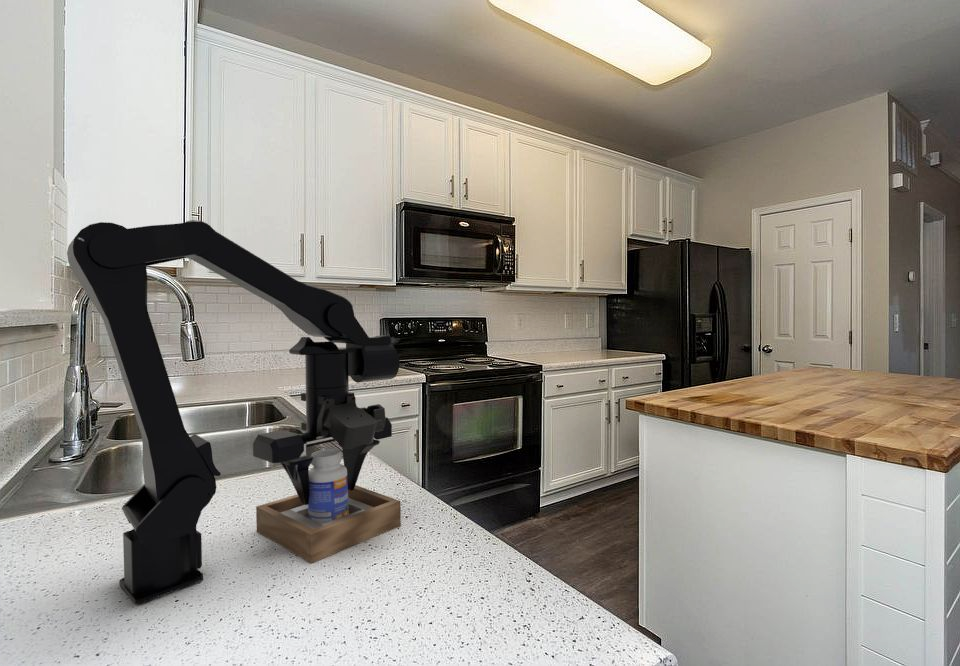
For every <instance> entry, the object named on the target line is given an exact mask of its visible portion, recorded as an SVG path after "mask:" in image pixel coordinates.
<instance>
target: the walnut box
mask: <svg viewBox="0 0 960 666" xmlns="http://www.w3.org/2000/svg"><path fill="white" fill-rule="evenodd" d="M348 503H349V515H346V516H343V517H340V518H338V519H335V520H332V521H329V522H327V523H324V524H320V523H318V522H315V521H313V520H311V519H309V513H308V505H304V504H302V502H301V500H300V498H299V496H298V494H297V493H296V494H294V495H290V496H288V497H284V498H280V499H277V500H274V501H270V502H267V503H264V504H260V505H256V508H255V511H256V512H255V513H256V515H255V516H256V517H255V518H256V519H255V520H256V521H255V522H256V532H257V533H258V534H260V535H262V536H264V537H265V538H267V539H269V540H271V542H274V543H276V544H278V545H279V546H280V547H283V548H284V549H286V550H287V551H289V552H291V553H293V554H295V555H297V556H298V557H299V558H301V559H304V560H305V561H307V562H308V563H309V564H313V563H315V562H318V561H320V560H322V559H323V560H324V559H325V558H328V557H330V556H331V555H335V554H336V553H339V552H341V551H344V550H345V549H348V548H350V547H353V546H357V544H361V543H362V542H364V541H365V542H366V541H367V540H370V539H372V538H374V537H377V536H379V535H381V534H384V533H386V532H388V531H391V530H393V529H395V528H398V527H401V525H402V523H401V521H402V519H401V511H402V509H401V500H399V499H397V498H394V497H390V496H387V495H384V494H383V493H378V492H376V491H373V490H371V489H368V488H365V487H362V486H359V485H357V484H356V485H355V488H354V490H352V491H351V490H348Z"/></svg>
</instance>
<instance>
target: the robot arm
mask: <svg viewBox="0 0 960 666" xmlns="http://www.w3.org/2000/svg"><path fill="white" fill-rule="evenodd" d="M66 256H67V262H68V264H69V267H70V268H71V270H72V272H73V274H74V275H75V278H76V279H77V281H78V283H79V284H80V285H81V287H82V289H83V290H84V292H85V294H86V295H87V297H88V299H90V302H91V303H92V304H93V306H94V307H95V310H97V311H98V313H99V315H100V317H101V319H102V321H103V323H104V327H105V329H106V332H107V336H108V338H109V341H110V345H111V347H112V349H113V350H112V351H113V353H114V356H115V359H116V362H117V365H118V368H119V371H120V374H121V377H122V381H123V384H124V386H125V389H126V393H127V395H128V398H129V401H130V404H131V407H132V410H133V413H134V416H135V419H136V423H137V425H138V427H139V431H140V435H141V439H142V441H141V442H142V447H141V448H142V449H141V450H142V452H141V453H142V454H141V455H142V457H141V460H142V461H141V463H142V473H143V482H144V484H142V486H140V487H139V489H138V490H137V491H136V492H135V493H134V494H133V495H132V496H131V497H130V498H129V499H128V500H127V501H126V502H125V503H124V504H123V505H122V506H121V510H122V512H123V514H124V516H125V518H126V519H127V522H128V523H129V524H130V525H131V526H132V529H131V530H128V531H124V532H123V533H122V539H123V544H122V545H123V546H122V547H123V576H124V577H122V578H120V579H119V582H118V583H119V586H120V587H121V588H122V589H123V591H124V592H125V593H126V595H127V596H128V597H129V598H130V599H131V600H132V602H133V603H134V604H136V605H138V604H142V603H145V602H149V601H150V600H153V599H156V598H159V597H161V596H163V595H166V594H168V593H169V594H170V593H171V592H174V591H177V590H179V589H181V588H184V587H187V586H189V585H192V584H195V583H198V582H199V581H202V580H203V579H204V573H202V572H201V571H200V569H201V568H202V566H203V550H202V549H203V548H202V547H203V546H202V533H201V532H200V531H198V530H197V525H198V522H199V520H200V516H201V514H202V511H203V509H205V507H207V506H208V504H210V503H211V501H212V499H213V497H214V496H215V494H216V491H217V482H216V481H217V480H216V478H215V477H219V476H221V474H222V473H221V472H220V470H218V469H217V468H216V465H215V464H214V460H213V451H212V445H211V442H210V441H208V440H206V439H205V438H203V437H201V436H199V435H198V434H196V433H194V434H192V435H189V433H188V432H187V430H186V429H185V426H184V422H183V419H182V416H181V413H180V410H179V405H178V403H177V399H176V397H175V394H174V390H173V387H172V384H171V381H170V377H169V374H168V371H167V368H166V366H165V365H166V364H165V362H164V359H163V356H162V353H161V350H160V345H159V343H158V339H157V337H156V334H155V329H154V327H153V324H152V320H151V317H150V315H149V311H148V310H149V309H148V271H147V267H149V266H154V265H157V264H163V263H169V262H172V261H178V260H183V259H189V260H190V261H191V260H192V261H194V262H195V263H197V264H198V265H201V266H202V267H204V268H206V269H207V270H209V271H212V272H214V273H215V274H216V275H219V276H220V277H223V278H224V279H226V280H228V281H230V282H231V283H233V284H235V285H237V286H239V287H240V288H243V289H244V290H246V291H248V292H250V294H253V295H255V296H257V297H258V298H261V299H262V300H264V301H266V302H268V303H269V304H272V305H273V306H274V307H276V308H277V309H278V310H280V311H281V312H282V313H283V314H284V316H285V317H286V318H287V319H288V320H289V321H290V322H291V323H292V324H294V326H296V327H297V328H299V329H301V330H302V331H303V332H304V333H305V334H306V335H308V336H301V337H300V338H299V340H298V342H297V343H296V344H294V345H293V346H292V347H290V348H289V350H288V352H289V354H291V355H298V356H305V362H304V363H305V364H304V365H305V392H301V393H300V400H301V402H302V401H303V402H305V419H306V420H305V421H302V422H300V424H301V427H300V429H301V430H302V431H306V432H303V433H300V434H299V433H295V432H291V431H288V430H284V429H280V430H275V431H270V432H265V433H259V434H257V436H256V438H255V439H254V441H253V442H252V456H253V457H255V458H258V459H260V460H263V461H266V462H267V463H270V464H280V465H281V466H282V467H283V469H284V470H285V472H286V474H287V475H288V478H289V480H290V482H291V483H292V486H293V487H294V490H295V492H296V495H297V494H298V496H299V498H300V500H301V502H302V504H304V505H308V504H309V494H310V493H309V470H310V469H309V468H310V465H312V463H311V462H312V460H313V458H312V457H311V456H308V455H307V448H309V447H313V446H318V445H323V444H328V443H333V442H337V443H338V445H339V447H340V448H342V449H341V450H342V458H343V465H344V466H345V467H346V469H347V480H348V490H351V491H352V490H354V488H355V485H357V483H358V482H357V481H358V479H359V477H360V476H359V475H360V473H361V470H362V467H363V463H364V462H365V460H366V457H367V455H368V453H369V452H370V451H371V450H372V449H373V448H374V447H375V446H378V445H380V443H381V440H383V439H387V438H390V437H392V436H393V423H392V422H391V421H390V419H389V418H388V417H387V416H386V410H385V407H384V406H383V405H381V404H371V405H368V406H367V407H365V406H364V407H358V406H357V403H356V402H357V401H356V398H357V397H356V395H355V393H354V392H351V391H349V390H350V389H349V388H350V387H349V385H350V383H349V380H350V379H349V377H350V378H351V380H353V382H355V383H357V384H358V383H368V382H379V381H387V380H393V379H394V378H396V377H397V374H398V372H399V370H400V362H401V361H400V357H399V355H398V351H397V350H396V349H397V348H396V347H395V346H394V345H393V344H392V337H391V336H390V335H375V336H371V337H370V336H369V335H368V334H367V332H366V331H365V329H364V328H363V326H362V325H361V324H360V321H358V319H357V318H356V316H355V311H354V309H353V308H354V306H353V304H352V303H351V301H350V300H348V299H347V298H346V297H344V296H341V295H339V294H338V293H335V292H333V291H329V290H327V289H324V288H321V287H317V286H314V285H311V284H307V283H304V282H302V281H299V280H297V279H296V278H294V277H293V276H290V275H289V274H287V273H285V272H284V271H282V270H280V269H279V268H277V267H276V266H274V265H272V264H271V263H269V262H267V261H266V260H264V259H262V258H260V257H259V256H257V255H255V253H252V252H251V251H249V250H248V249H246V248H244V247H242V246H241V245H239V244H238V243H236V242H234V241H232V240H231V239H229V238H228V237H226V236H224V235H223V234H221V233H220V232H218V231H217V230H215V229H214V228H213V227H212V226H211V225H210V224H209V223H207V222H204V221H202V220H197V219H191V220H187V221H185V222H180V223H169V224H156V225H155V224H154V225H153V224H152V225H145V226H139V227H137V226H136V227H131V228H127V227H125V226H124V225H120V224H118V223H115V222H114V223H113V222H106V221H105V222H103V221H101V222H95V223H91V224H88V225H87V226H85V227H83V228H82V229H80V230H79V232H78V233H77V234H76V236H75V237H74V238H73V239H72V241H71V242H70V243H69V245H68V246H67V252H66ZM310 336H312V337H315V338H316V337H317V338H319V337H320V338H323V339H325V340H326V341H314V340H313V339H312V338H311V337H310ZM337 344H345V347H338V346H337Z"/></svg>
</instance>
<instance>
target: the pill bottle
mask: <svg viewBox="0 0 960 666" xmlns="http://www.w3.org/2000/svg"><path fill="white" fill-rule="evenodd" d="M310 457H312V458H313V460H312V462H311V465H312V466H313V467H311V468H310V469H309V493H310V494H309V504H308V513H309V519H311V520H313V521H315V522H318V523H320V524H324V523H327V522H329V521H332V520H335V519H338V518H340V517H343V516H346V515H349V503H348V480H347V469H346V467H345V466H344V464H343V463H342V464H341V462H342V458H343V456H342V452H341V450H340V449H337V448H326V449H319V450H317V451H314V452H312V453H311V455H310Z"/></svg>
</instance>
